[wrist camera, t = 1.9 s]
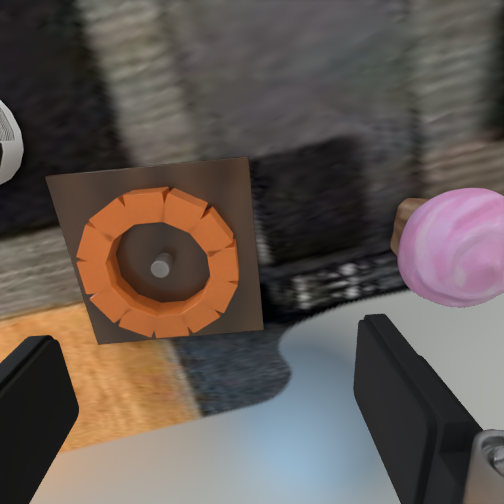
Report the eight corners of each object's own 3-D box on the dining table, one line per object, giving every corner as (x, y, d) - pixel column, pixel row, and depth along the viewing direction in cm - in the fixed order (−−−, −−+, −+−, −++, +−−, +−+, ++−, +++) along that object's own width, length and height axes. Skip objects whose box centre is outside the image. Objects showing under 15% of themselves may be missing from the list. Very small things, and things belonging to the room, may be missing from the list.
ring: (229, 180, 27) (227, 185, 25) (244, 316, 32) (244, 330, 30) (72, 195, 27) (56, 201, 25) (111, 328, 32) (101, 343, 30)
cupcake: (376, 176, 28) (442, 200, 19) (474, 175, 28) (587, 198, 19) (364, 269, 31) (415, 328, 22) (452, 267, 32) (539, 326, 22)
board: (248, 156, 27) (248, 159, 25) (263, 325, 34) (265, 342, 31) (49, 175, 28) (29, 179, 25) (101, 340, 34) (89, 358, 31)
